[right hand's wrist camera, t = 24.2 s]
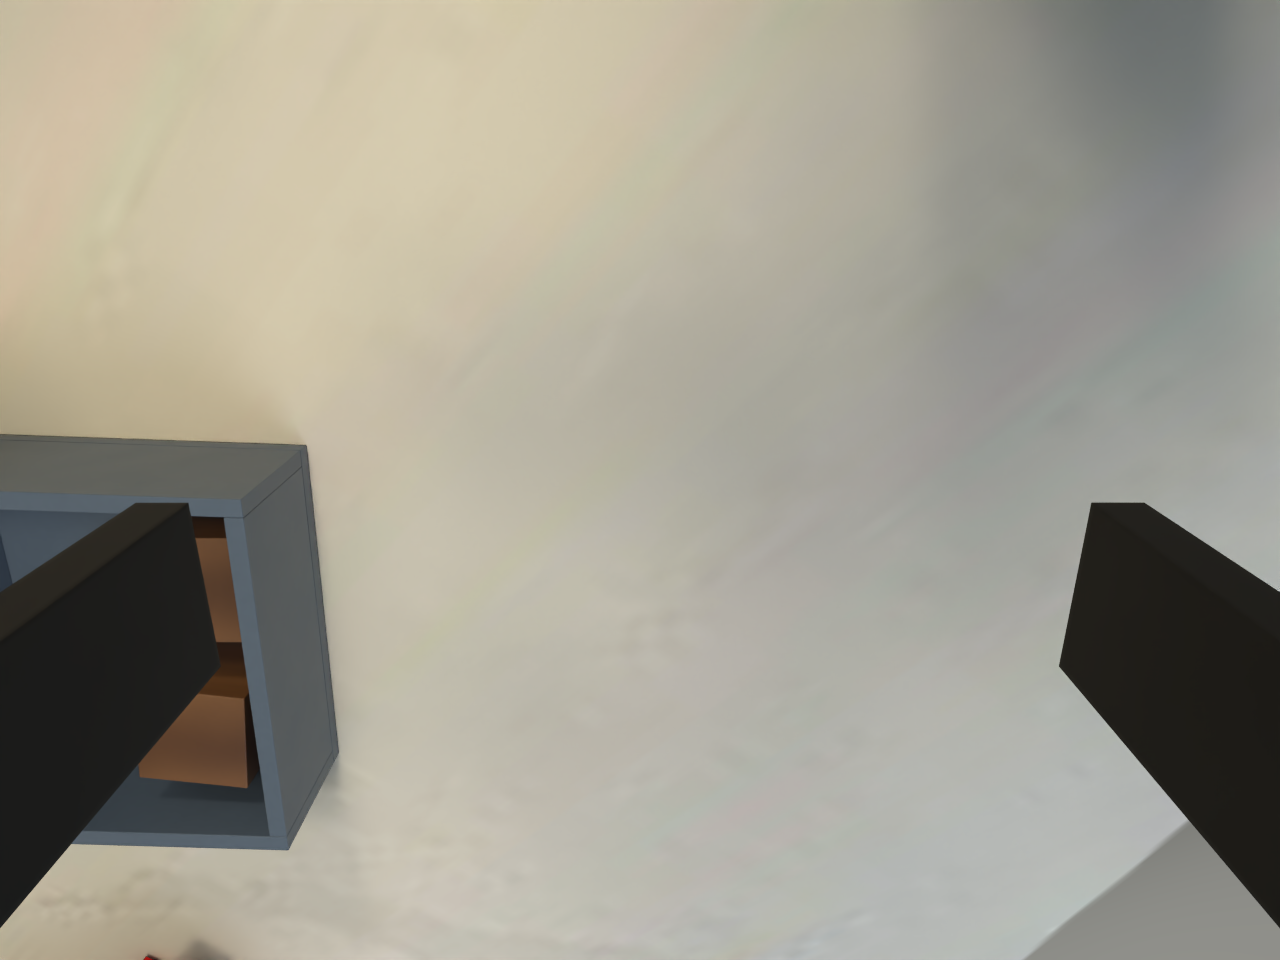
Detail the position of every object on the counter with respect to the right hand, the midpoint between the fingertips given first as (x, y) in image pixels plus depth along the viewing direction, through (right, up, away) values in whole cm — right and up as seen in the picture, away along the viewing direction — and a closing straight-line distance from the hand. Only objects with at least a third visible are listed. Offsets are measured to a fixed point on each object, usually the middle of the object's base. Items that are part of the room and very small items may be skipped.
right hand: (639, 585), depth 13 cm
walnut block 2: (-20, -9, +31) cm, 38 cm away
